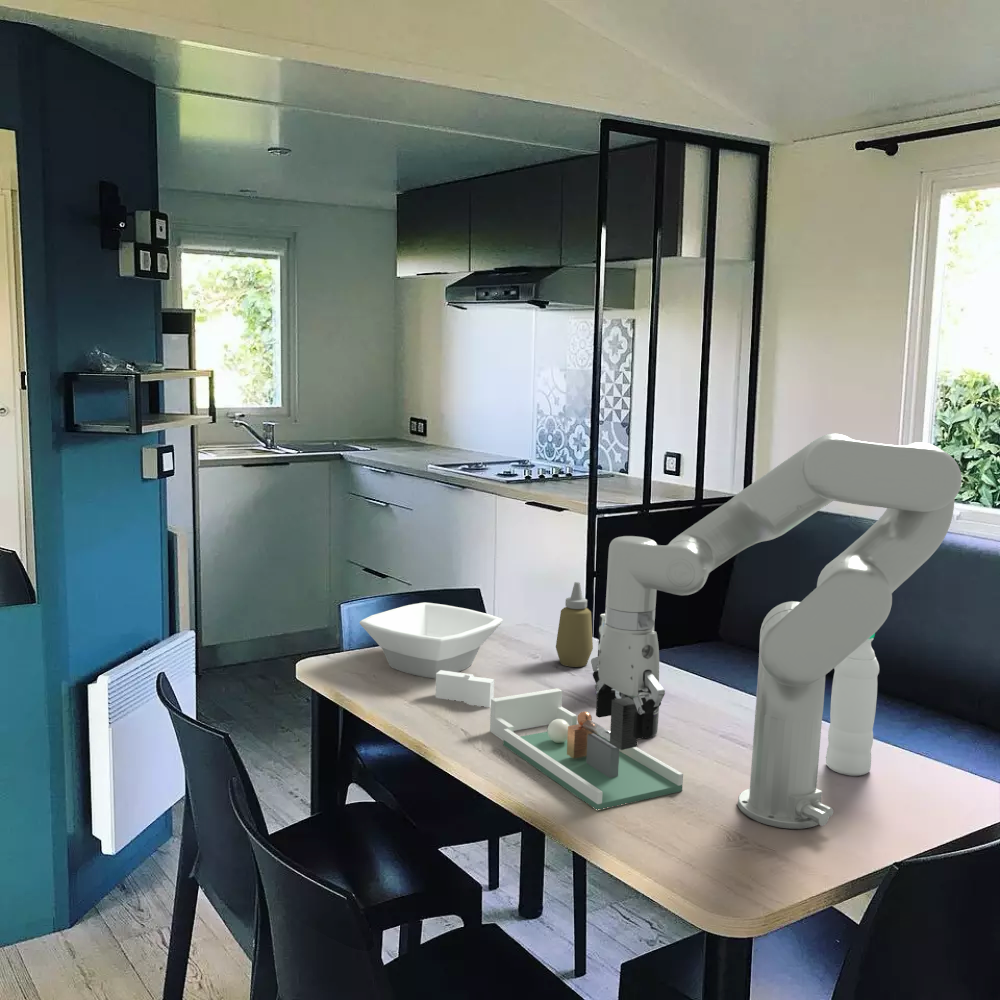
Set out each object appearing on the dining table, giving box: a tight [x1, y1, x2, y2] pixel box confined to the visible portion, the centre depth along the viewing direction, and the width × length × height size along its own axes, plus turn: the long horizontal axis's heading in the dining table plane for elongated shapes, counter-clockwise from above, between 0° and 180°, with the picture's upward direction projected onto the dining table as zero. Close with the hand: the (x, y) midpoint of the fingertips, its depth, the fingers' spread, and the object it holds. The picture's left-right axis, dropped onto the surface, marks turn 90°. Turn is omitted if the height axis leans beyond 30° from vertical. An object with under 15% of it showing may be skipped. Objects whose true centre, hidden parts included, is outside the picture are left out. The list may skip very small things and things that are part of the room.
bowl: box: [359, 602, 504, 680], centre depth 217 cm, size 24×25×10 cm
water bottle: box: [825, 632, 880, 777], centre depth 168 cm, size 7×7×25 cm
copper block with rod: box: [567, 697, 638, 759], centre depth 163 cm, size 13×5×12 cm, turn 30°
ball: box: [546, 719, 570, 743], centre depth 174 cm, size 4×4×4 cm
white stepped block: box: [435, 670, 495, 708], centre depth 196 cm, size 15×11×6 cm
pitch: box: [489, 687, 684, 811], centre depth 169 cm, size 34×16×6 cm, turn 30°
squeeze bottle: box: [555, 581, 594, 668], centre depth 221 cm, size 8×8×18 cm
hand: (623, 726), depth 158 cm, fingers open, 9 cm apart
